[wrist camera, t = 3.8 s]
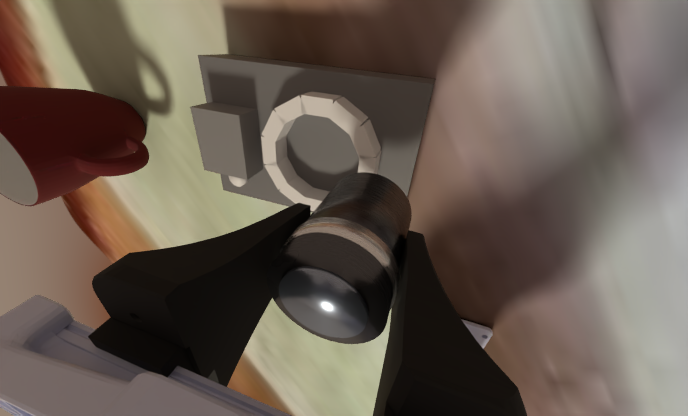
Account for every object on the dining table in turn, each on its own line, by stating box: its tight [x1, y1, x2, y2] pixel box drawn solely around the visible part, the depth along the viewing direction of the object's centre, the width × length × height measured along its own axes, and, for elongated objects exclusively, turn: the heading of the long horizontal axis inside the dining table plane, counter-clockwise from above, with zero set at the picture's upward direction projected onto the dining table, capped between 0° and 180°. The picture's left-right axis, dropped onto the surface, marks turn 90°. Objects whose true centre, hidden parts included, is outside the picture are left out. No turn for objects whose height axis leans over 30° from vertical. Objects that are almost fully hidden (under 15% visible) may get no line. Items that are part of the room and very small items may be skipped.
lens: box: [267, 172, 412, 344], centre depth 11 cm, size 5×5×6 cm
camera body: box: [190, 54, 435, 212], centre depth 19 cm, size 10×15×5 cm, turn 85°
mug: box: [0, 86, 149, 206], centre depth 22 cm, size 10×8×10 cm
